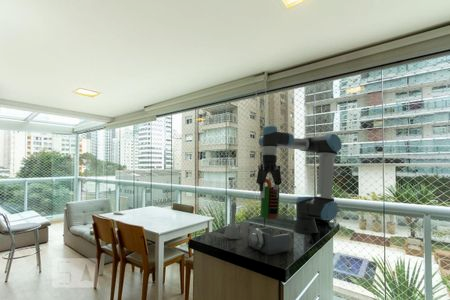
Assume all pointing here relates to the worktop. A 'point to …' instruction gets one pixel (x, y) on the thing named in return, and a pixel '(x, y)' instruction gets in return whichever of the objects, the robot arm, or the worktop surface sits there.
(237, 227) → the engine component
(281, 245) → the flange bracket
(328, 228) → the worktop surface
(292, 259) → the worktop surface
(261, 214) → the motor
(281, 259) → the worktop surface
